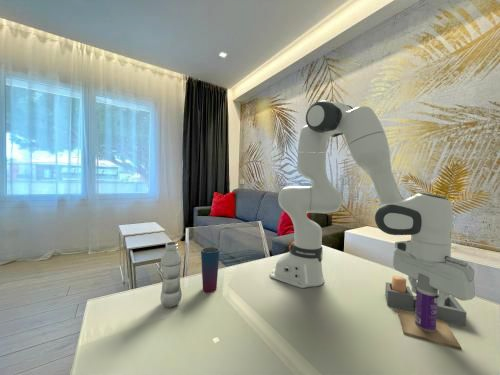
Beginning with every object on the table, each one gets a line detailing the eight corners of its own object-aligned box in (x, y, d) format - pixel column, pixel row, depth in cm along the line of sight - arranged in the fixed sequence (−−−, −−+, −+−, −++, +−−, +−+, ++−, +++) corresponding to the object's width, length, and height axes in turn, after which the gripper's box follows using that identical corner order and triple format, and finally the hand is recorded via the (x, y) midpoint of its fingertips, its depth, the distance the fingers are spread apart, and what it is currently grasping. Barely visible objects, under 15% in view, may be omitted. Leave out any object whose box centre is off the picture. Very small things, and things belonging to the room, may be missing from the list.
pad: (403, 333, 61) (403, 331, 61) (397, 311, 72) (397, 309, 71) (461, 349, 55) (461, 347, 55) (444, 322, 66) (445, 320, 66)
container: (434, 334, 60) (437, 280, 59) (413, 325, 63) (416, 274, 63) (436, 326, 63) (440, 275, 62) (416, 318, 67) (419, 270, 66)
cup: (196, 291, 81) (197, 250, 80) (207, 283, 87) (207, 245, 86) (212, 295, 78) (213, 253, 77) (222, 287, 84) (223, 248, 84)
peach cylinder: (391, 302, 76) (393, 279, 75) (390, 297, 79) (391, 275, 79) (406, 305, 74) (407, 282, 73) (404, 299, 77) (405, 277, 77)
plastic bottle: (186, 301, 74) (186, 242, 73) (170, 312, 68) (171, 248, 67) (171, 296, 77) (172, 239, 76) (155, 306, 70) (156, 244, 70)
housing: (387, 307, 74) (388, 292, 73) (384, 293, 82) (385, 280, 82) (465, 325, 65) (466, 309, 65) (452, 308, 74) (453, 293, 74)
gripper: (484, 263, 53) (480, 320, 54) (406, 240, 73) (403, 281, 74) (464, 265, 52) (460, 323, 52) (390, 241, 72) (388, 283, 72)
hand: (426, 298), depth 63 cm, fingers open, 5 cm apart
